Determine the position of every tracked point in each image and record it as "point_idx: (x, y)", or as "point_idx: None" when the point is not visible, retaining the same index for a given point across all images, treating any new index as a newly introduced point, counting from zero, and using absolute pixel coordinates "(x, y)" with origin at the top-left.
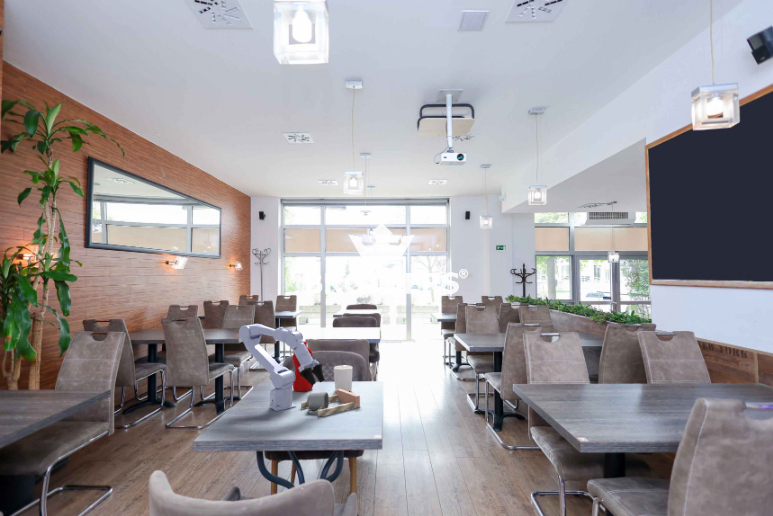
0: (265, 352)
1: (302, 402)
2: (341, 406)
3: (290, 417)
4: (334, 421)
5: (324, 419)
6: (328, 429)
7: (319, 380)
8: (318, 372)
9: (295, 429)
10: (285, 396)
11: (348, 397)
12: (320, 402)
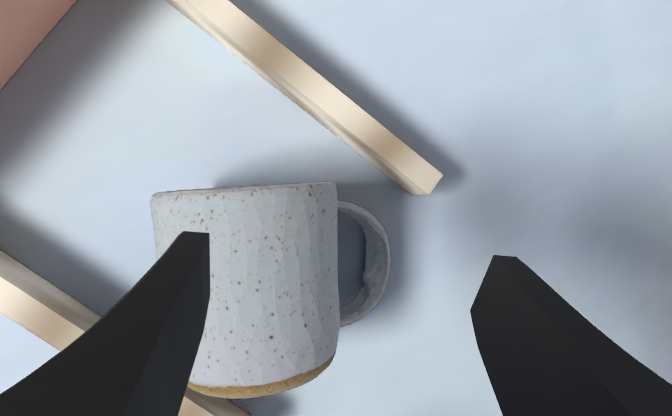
0: None
1: None
2: (261, 28)
3: (471, 392)
4: (489, 28)
5: (464, 117)
6: (632, 19)
7: (202, 322)
8: (157, 410)
9: (668, 233)
10: None
11: (7, 10)
12: (336, 213)
